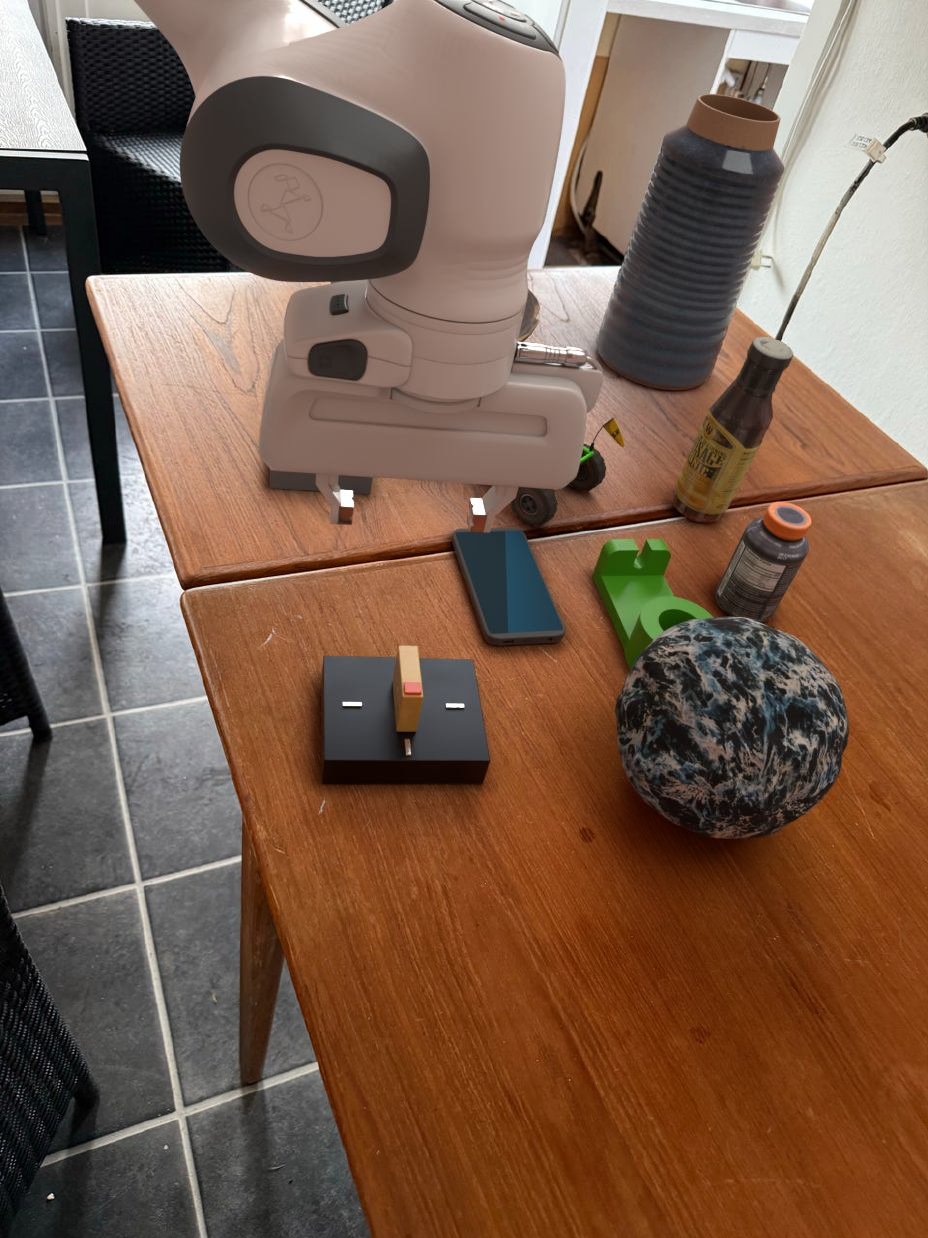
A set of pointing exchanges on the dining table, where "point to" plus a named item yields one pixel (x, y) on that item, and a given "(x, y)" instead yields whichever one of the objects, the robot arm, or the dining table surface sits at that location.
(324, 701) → the plate
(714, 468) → the sauce bottle
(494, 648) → the dining table surface
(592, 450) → the motor vehicle
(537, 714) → the dining table surface
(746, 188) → the vase
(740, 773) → the decorative stone
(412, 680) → the thumb turn
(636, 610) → the tape dispenser
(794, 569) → the pill bottle
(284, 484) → the grey button base
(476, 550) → the smartphone
